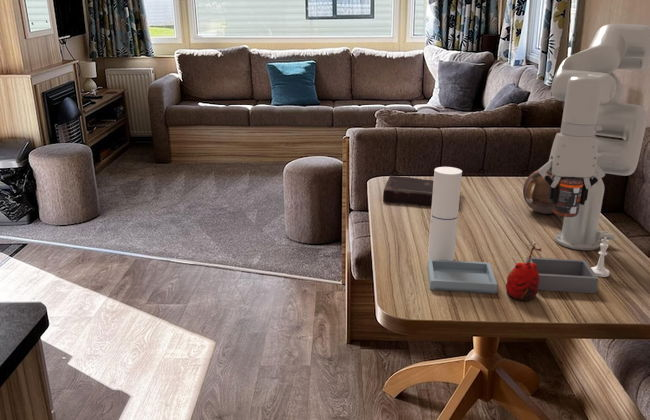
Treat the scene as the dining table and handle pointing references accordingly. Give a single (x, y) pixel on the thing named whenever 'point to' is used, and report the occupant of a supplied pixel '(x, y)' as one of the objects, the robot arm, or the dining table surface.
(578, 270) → the dock
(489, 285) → the tray
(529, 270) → the red clay folk toy
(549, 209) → the reflective sphere
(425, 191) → the diary
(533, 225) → the dining table surface
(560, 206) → the supplement bottle
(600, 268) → the chess piece
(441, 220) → the cylindrical container
